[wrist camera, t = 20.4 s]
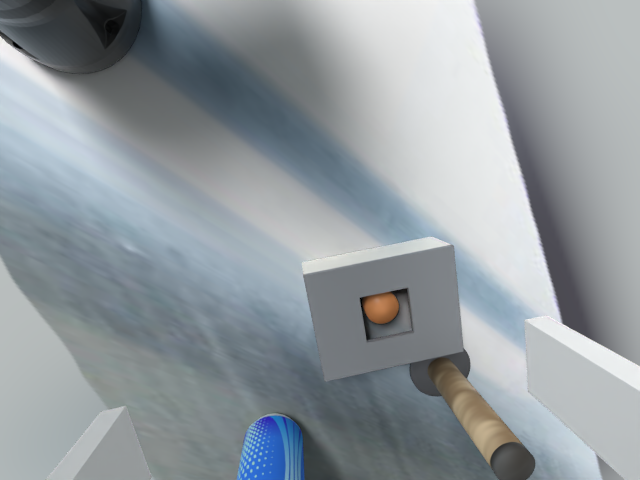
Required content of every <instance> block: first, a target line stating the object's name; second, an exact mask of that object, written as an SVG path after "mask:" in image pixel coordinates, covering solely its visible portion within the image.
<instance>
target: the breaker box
mask: <svg viewBox="0 0 640 480" xmlns="http://www.w3.org/2000/svg"><path fill="white" fill-rule="evenodd" d="M302 269H303V277H304V282H305V287H306V292H307V297H308V301H309V306H310V311H311V316H312V321H313V326H314V331H315V336H316V341H317V346H318V351H319V356H320V361H321V366H322V371H323V376H324V381H325V382H326V381H331V380H335V379H340V378H344V377H349V376H354V375H358V374H363V373H367V372H372V371H376V370H381V369H386V368H390V367H395V366H399V365H404V364H409V363H413V362H418V361H422V360H427V359H431V358H436V357H441V356H445V355H450V354H454V353H459V352H463V351H464V350H463V340H462V329H461V318H460V307H459V297H458V286H457V275H456V264H455V254H454V246H453V245H451V244H448V243H446V242H444V241H441V240H439V239H437V238H434V237H432V236H431V237H426V238H421V239H416V240H411V241H406V242H401V243H396V244H391V245H386V246H381V247H376V248H371V249H366V250H361V251H356V252H351V253H345V254H340V255H335V256H330V257H325V258H320V259H315V260H310V261H305V262H302ZM404 288H407V292H408V300H409V307H410V315H411V323H412V330H413V331H408V332H403V333H399V334H394V335H389V336H385V337H380V338H375V339H370V340H366V334H365V328H364V322H363V316H362V310H361V303H360V297H365V296H370V295H375V294H380V293H385V292H390V291H394V290H399V289H404Z"/></svg>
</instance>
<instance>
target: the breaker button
mask: <svg viewBox="0 0 640 480" xmlns="http://www.w3.org/2000/svg"><path fill="white" fill-rule="evenodd" d="M362 307H363V309H364V311H365V313H366V315H367V317H368V318H369V319H370V320H371V321H372V322H374V323H378V324H384V323H387V322H390V321H391V320H393V319H394V318H395V316H396V315H397V313H398V310H399V303H398V300H397V298H396V297H395V296H394V295H393V294H392V292H391V291H390V292H385V293H380V294H375V295H370V296H365V297H363V299H362Z"/></svg>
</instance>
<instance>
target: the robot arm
mask: <svg viewBox="0 0 640 480" xmlns="http://www.w3.org/2000/svg"><path fill="white" fill-rule="evenodd" d="M140 21H141V0H0V36H1V37H2V38H3V39H4V40H5V41H6V42H7V43H8V44H10V45H11V46H12V47H13V48H15V49H16V50H18V51H19V52H21V53H22V54H24V55H25V56H27V57H29V58H31V59H33V60H35V61H37V62H39V63H42V64H44V65H46V66H48V67H51V68H53V69H56V70H59V71H63V72H68V73H78V74H82V73H92V72H96V71H100V70H103V69H105V68H107V67H109V66H111V65H113V64H114V63H116V62H117V61H118V60H120V59H121V58H122V57H123V56H124V55H125V54H126V53H127V51H128V50H129V49H130V47H131V46H132V44H133V42H134V40H135V38H136V36H137V33H138V30H139V26H140ZM525 341H526V362H527V384H528V392H529V393H530V394H531V395H532V396H533V397H535V398H536V399H537V400H538V401H539V402H540V403H541V404H542V405H543V406H544V407H546V408H547V409H548V410H549V411H550V412H551V413H552V414H553V415H554V416H555V417H556V418H558V419H559V420H560V421H561V422H562V423H563V424H564V425H565V426H566V427H567V428H569V429H570V430H571V431H572V432H573V433H574V434H575V435H576V436H577V437H578V438H580V439H581V440H582V441H583V442H584V443H585V444H586V445H587V446H588V447H589V448H591V449H592V450H593V451H594V452H595V453H596V454H597V455H598V456H599V457H600V458H602V459H603V460H604V461H605V462H606V463H607V464H608V465H609V466H610V467H611V468H613V469H614V470H615V471H616V472H617V473H618V474H619V475H620V476H622V478H624V479H625V480H640V366H638V365H636V364H634V363H633V362H631V361H629V360H627V359H625V358H623V357H622V356H620V355H618V354H616V353H614V352H613V351H611V350H609V349H607V348H605V347H603V346H602V345H600V344H598V343H596V342H594V341H592V340H590V339H589V338H587V337H585V336H583V335H581V334H579V333H578V332H576V331H574V330H572V329H570V328H568V327H567V326H565V325H563V324H561V323H559V322H557V321H556V320H554V319H552V318H550V317H548V316H541V317H537V318H532V319H527V320H525ZM150 479H151V474H150V471H149V468H148V466H147V463H146V460H145V457H144V454H143V452H142V449H141V446H140V443H139V441H138V438H137V435H136V432H135V429H134V427H133V424H132V421H131V418H130V416H129V413H128V410H127V407H126V406H124V407H119V408H115V409H110V410H105V411H101V412H100V413H99V415H98V416H97V417H96V418H95V420H94V421H93V422H92V423H91V425H90V426H89V427H88V428H87V430H86V431H85V432H84V433H83V434H82V436H81V437H80V438H79V439H78V441H77V442H76V443H75V444H74V446H73V447H72V448H71V449H70V450H69V452H68V453H67V454H66V455H65V457H64V458H63V459H62V460H61V462H60V463H59V464H58V465H57V466H56V468H55V469H54V470H53V471H52V473H51V474H50V475H49V476H48V478H47V479H46V480H150Z"/></svg>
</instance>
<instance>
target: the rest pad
mask: <svg viewBox="0 0 640 480" xmlns="http://www.w3.org/2000/svg"><path fill="white" fill-rule="evenodd" d="M463 350H464V348H463ZM441 357H444V358H448V359H449V360H451V361H452V363H453V364H454V365H455V366H456V367H457V368H458V370H459V371H460V372H461V373H462V374H463V375H464V377H465V378H466V379H467V377H468V374H469V371H470V359H469V356H468V354H467V352H466V351H465V350H464V351H463V352H459V353H454V354H450V355H445V356H441ZM437 358H440V357H436V358H431V359H427V360H422V361H418V362H413V363H411V364H410V376H411V379H412V381H413V383H414V384H415V386H416V387H417V388H418V389H419V390H420V391H421V392H423V393H425V394H427V395H431V396H442V395H441V394H440V392H439V391H438V389H437V388H436V386H435V385H434V383H433V382H432V380H431V379H430V377H429V376H428V366H429V365H430V363H431V362H432V361H433V360H435V359H437Z"/></svg>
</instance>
